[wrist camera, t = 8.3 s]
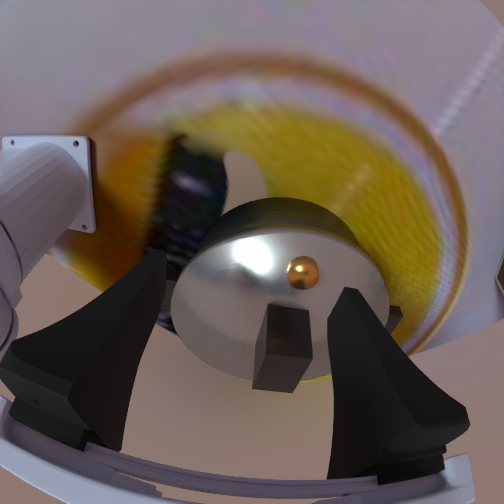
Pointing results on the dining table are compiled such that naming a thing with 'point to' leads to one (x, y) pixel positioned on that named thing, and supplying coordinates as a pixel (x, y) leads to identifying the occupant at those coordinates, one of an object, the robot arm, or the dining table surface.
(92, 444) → the robot arm
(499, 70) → the dining table surface
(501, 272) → the food container
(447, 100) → the dining table surface
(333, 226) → the cooker pot
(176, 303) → the cooker lid
